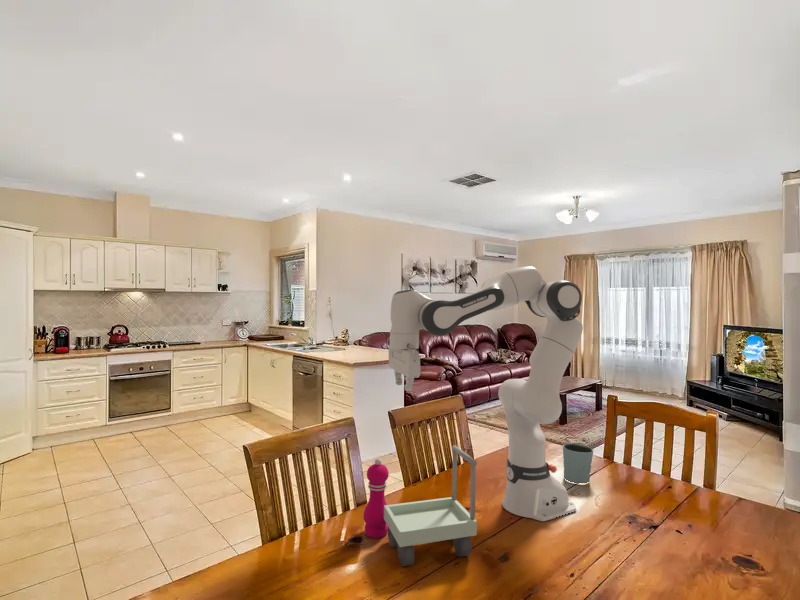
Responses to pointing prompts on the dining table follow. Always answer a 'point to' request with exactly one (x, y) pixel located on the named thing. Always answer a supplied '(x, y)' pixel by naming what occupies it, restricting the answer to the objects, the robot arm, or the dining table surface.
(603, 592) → the dining table surface
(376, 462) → the pepper mill
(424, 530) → the serving trolley
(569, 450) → the grey cup
